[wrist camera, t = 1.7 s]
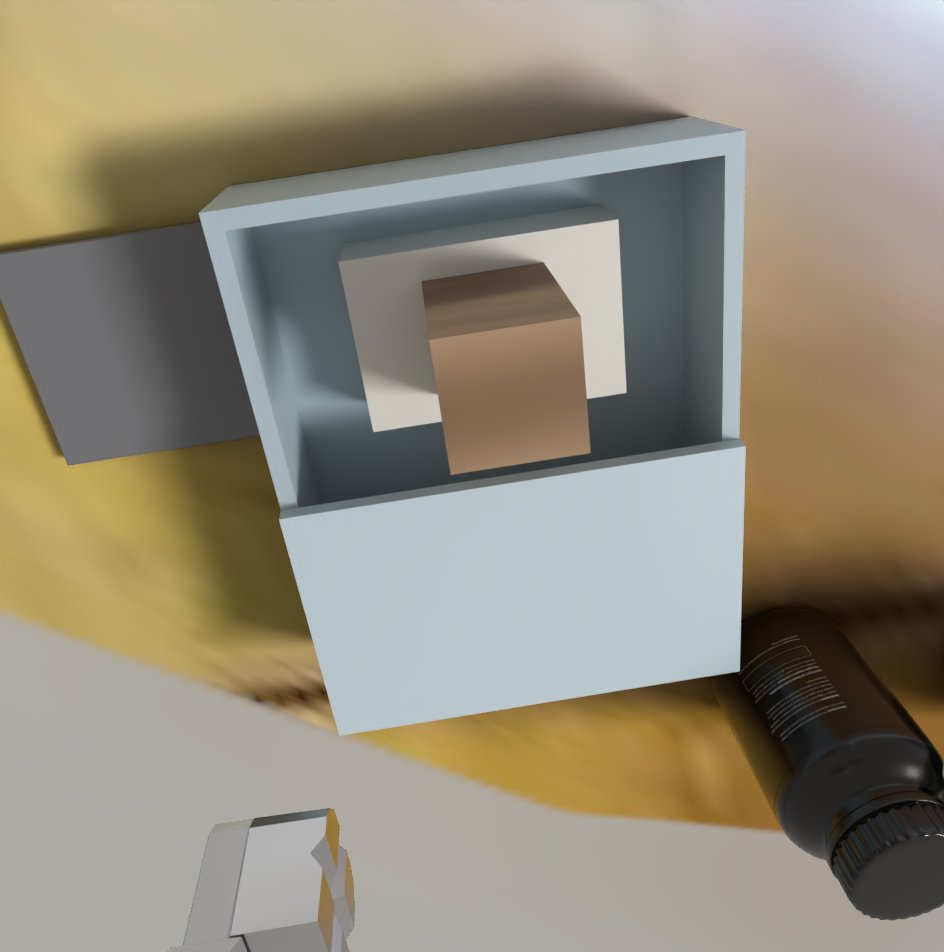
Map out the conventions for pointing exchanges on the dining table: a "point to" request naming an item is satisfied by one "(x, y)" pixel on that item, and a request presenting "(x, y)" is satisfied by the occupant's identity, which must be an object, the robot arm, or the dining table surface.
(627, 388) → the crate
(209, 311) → the pad
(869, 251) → the dining table surface
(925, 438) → the dining table surface
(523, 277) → the walnut block
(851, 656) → the supplement bottle
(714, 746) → the dining table surface
